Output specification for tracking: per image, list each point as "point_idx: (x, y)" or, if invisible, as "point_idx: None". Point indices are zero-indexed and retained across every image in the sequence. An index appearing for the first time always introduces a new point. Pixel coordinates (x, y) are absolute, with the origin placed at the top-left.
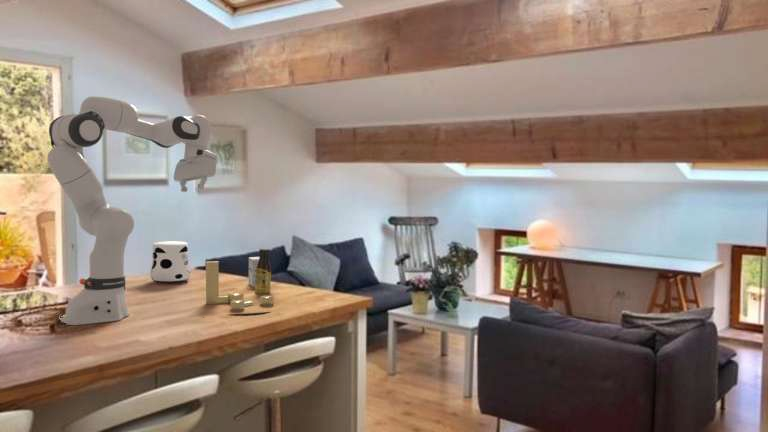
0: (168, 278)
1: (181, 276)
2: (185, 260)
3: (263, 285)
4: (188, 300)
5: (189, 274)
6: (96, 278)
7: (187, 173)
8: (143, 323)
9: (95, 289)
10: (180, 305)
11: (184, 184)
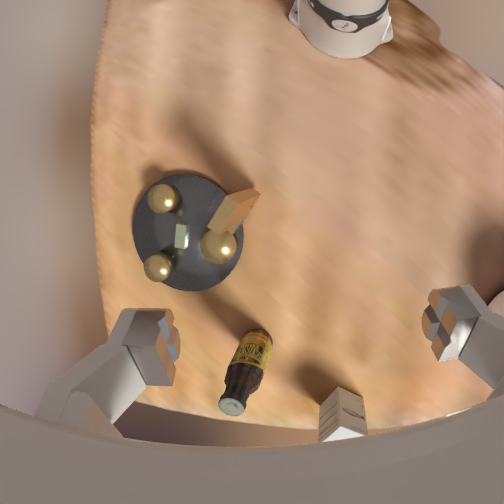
0: (495, 300)
1: None
2: None
3: (239, 344)
4: (348, 214)
5: None
6: None
7: (463, 497)
8: (237, 35)
9: None
10: (318, 168)
11: (496, 377)
